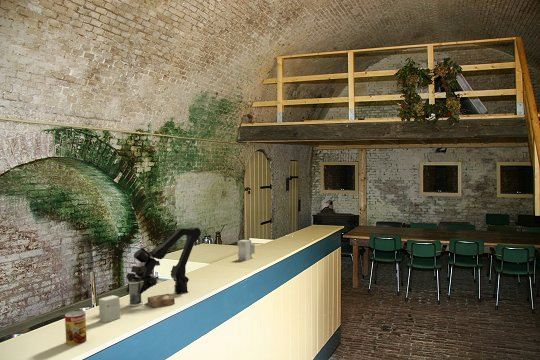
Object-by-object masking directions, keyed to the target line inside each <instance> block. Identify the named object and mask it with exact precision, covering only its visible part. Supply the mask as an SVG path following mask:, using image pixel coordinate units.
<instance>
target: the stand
mask: <svg viewBox="0 0 540 360" xmlns="http://www.w3.org/2000/svg"><path fill="white" fill-rule="evenodd" d="M175 302H176V301H175V298H174V296H172V295H171V294H169V293H164V294H159V295H158V294H156V295H153V296H147V304H148V305H149V306H151V307H152V308H153V309H154V308H159V307H165V306H171V305H176V303H175Z"/></svg>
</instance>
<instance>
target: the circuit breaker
mask: <svg viewBox="0 0 540 360" xmlns="http://www.w3.org/2000/svg"><path fill="white" fill-rule="evenodd" d="M237 249H238V250H237V251H238V253H237V258H238V259H237V260H238V261H246V262H247V261H250V260H252V258H253V257H252V254H255V251H256V250H255V243H252V240H251V239H240V240H237Z"/></svg>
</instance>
